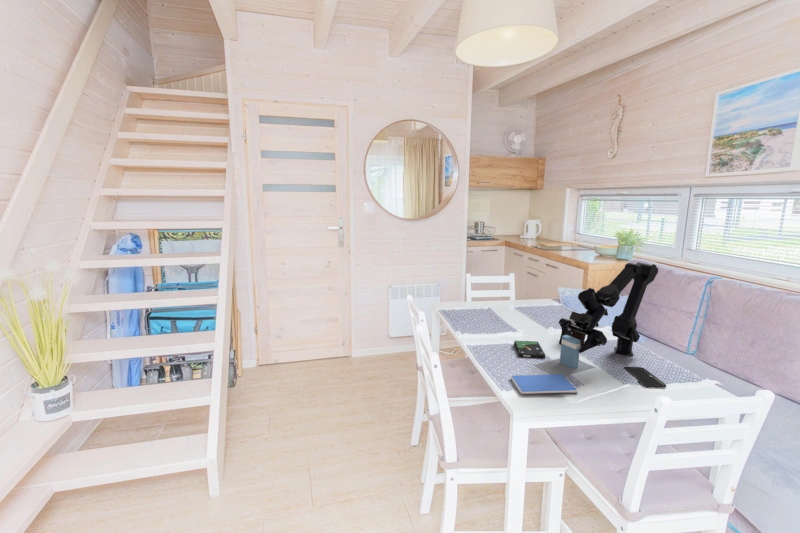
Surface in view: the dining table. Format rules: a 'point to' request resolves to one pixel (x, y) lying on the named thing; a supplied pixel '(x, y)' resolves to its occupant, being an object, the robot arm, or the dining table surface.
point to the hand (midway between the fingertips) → (569, 347)
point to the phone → (644, 377)
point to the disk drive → (529, 349)
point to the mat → (562, 367)
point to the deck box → (570, 351)
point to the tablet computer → (543, 384)
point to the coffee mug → (577, 334)
